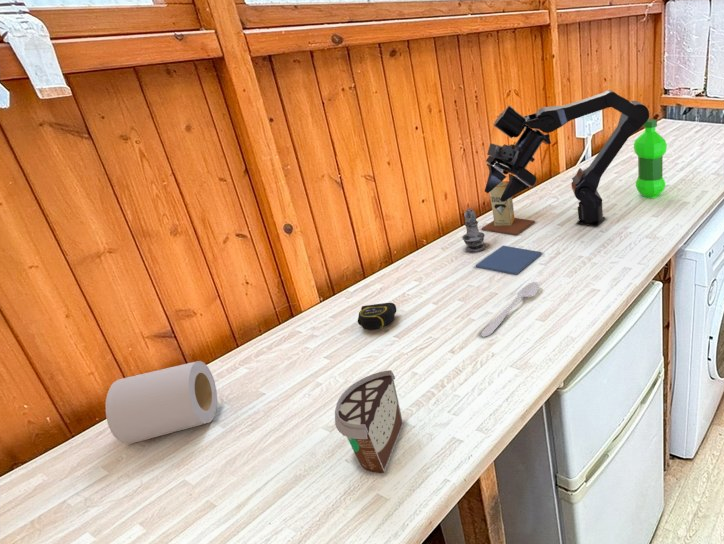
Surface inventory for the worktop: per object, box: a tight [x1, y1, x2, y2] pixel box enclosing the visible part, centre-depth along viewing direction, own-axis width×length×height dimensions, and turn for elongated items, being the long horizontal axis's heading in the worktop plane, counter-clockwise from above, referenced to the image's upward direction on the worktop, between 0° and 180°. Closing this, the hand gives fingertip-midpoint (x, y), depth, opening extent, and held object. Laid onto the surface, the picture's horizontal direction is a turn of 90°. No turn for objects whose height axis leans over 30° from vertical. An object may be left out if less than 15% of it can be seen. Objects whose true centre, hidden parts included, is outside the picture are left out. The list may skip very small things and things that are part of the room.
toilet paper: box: [105, 360, 218, 445], centre depth 82 cm, size 10×10×10 cm
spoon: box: [480, 281, 539, 338], centre depth 111 cm, size 4×21×2 cm, turn 157°
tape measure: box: [357, 302, 397, 331], centre depth 108 cm, size 7×7×4 cm
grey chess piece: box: [461, 206, 486, 254], centre depth 138 cm, size 6×6×12 cm
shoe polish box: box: [489, 180, 516, 226], centre depth 153 cm, size 5×5×12 cm
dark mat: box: [481, 217, 536, 236], centre depth 154 cm, size 12×10×1 cm
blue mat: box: [475, 245, 542, 276], centre depth 133 cm, size 12×12×1 cm
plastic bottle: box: [633, 118, 668, 199], centre depth 169 cm, size 10×10×25 cm
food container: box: [334, 369, 404, 474], centre depth 76 cm, size 12×6×10 cm, turn 5°
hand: (493, 196), depth 139 cm, fingers open, 9 cm apart
